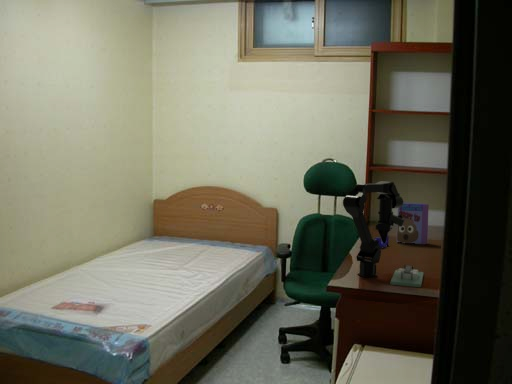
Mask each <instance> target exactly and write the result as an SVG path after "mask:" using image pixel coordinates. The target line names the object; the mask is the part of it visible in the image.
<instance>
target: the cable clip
mask: <svg viewBox="0 0 512 384" xmlns="http://www.w3.org/2000/svg"><path fill="white" fill-rule="evenodd" d="M374 239H375V240H378V241H379V245H380V246H381V248H382V247H386V248H387V246H386V245H388V246H389V235H388V236H387V240H386V243H385V244H383V242H382V239H381V237H376V236H375V237H374Z"/></svg>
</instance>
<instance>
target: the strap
mask: <svg viewBox="0 0 512 384" xmlns="http://www.w3.org/2000/svg"><path fill="white" fill-rule="evenodd" d="M411 269H412V265H406V269H405V271H403V273H406V274H410V273H411V271H410V270H411Z"/></svg>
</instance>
